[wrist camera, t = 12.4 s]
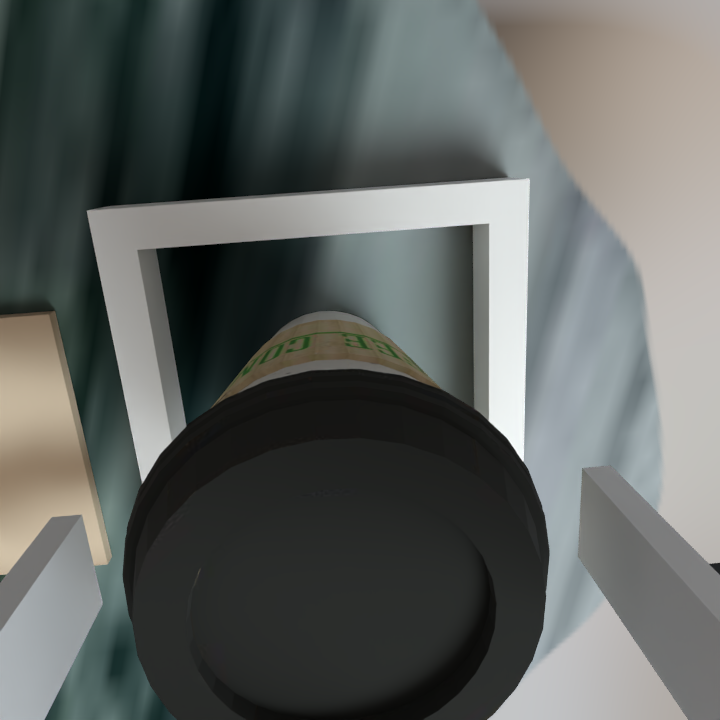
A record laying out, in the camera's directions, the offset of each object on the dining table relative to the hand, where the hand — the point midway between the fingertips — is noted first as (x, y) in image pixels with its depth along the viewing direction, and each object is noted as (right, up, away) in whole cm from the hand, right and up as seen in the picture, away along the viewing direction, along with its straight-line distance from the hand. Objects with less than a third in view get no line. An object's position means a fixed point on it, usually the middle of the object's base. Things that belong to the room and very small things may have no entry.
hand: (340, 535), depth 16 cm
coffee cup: (-1, +4, +11) cm, 12 cm away
